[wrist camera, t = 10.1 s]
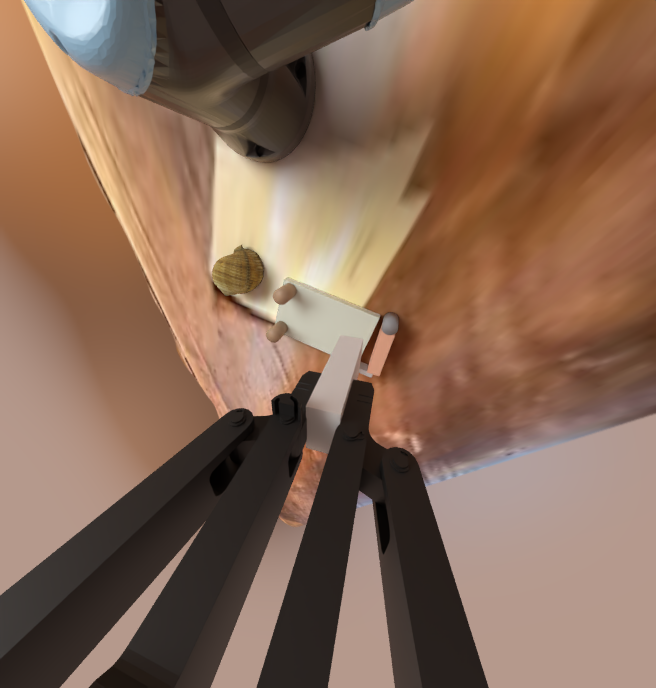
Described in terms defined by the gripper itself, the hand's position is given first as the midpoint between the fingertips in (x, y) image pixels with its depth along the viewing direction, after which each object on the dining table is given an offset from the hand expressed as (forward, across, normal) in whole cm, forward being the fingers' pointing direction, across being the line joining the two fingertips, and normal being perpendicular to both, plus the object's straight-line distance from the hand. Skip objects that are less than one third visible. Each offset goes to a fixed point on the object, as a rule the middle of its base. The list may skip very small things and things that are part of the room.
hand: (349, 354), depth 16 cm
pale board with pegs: (+26, -7, -12) cm, 30 cm away
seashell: (+27, -25, -3) cm, 37 cm away
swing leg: (+26, +2, -13) cm, 29 cm away
